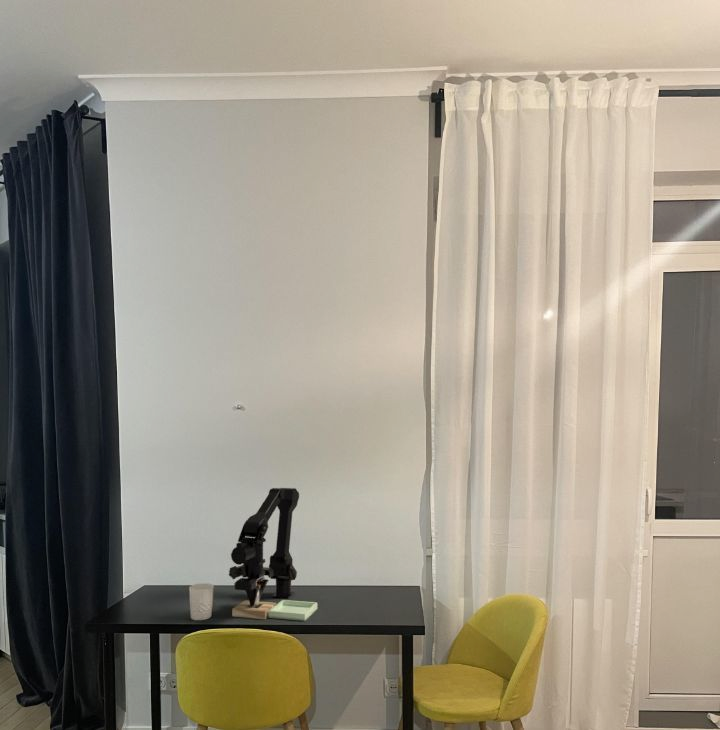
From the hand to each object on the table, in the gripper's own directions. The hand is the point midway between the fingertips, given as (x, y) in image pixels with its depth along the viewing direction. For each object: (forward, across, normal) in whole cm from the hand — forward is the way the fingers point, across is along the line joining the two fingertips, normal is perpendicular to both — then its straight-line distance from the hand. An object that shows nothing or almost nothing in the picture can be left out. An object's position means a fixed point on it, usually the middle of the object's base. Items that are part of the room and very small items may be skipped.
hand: (254, 604), depth 200 cm
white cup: (+3, +8, -16) cm, 18 cm away
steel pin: (+3, 0, 0) cm, 3 cm away
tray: (+3, -3, +13) cm, 14 cm away
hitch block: (+3, 0, 0) cm, 3 cm away
